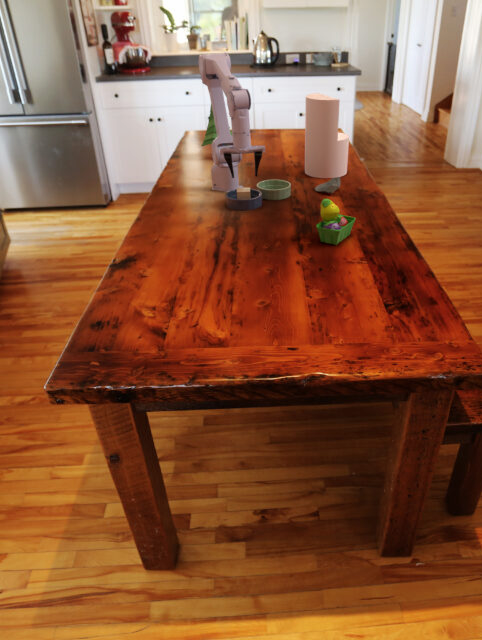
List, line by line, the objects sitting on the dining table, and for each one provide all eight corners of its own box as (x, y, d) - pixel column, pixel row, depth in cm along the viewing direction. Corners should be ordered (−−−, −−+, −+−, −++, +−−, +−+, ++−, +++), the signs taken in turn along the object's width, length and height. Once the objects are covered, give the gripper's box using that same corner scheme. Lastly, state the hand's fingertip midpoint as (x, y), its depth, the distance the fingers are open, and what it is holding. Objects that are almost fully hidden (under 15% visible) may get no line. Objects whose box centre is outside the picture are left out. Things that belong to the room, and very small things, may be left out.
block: (237, 206, 165) (236, 191, 162) (237, 202, 168) (236, 187, 165) (250, 206, 165) (250, 191, 162) (250, 201, 169) (249, 187, 166)
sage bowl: (251, 198, 173) (250, 187, 171) (267, 188, 182) (266, 177, 180) (281, 203, 168) (281, 191, 166) (296, 193, 177) (296, 182, 175)
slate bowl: (219, 208, 165) (218, 196, 162) (238, 197, 174) (237, 186, 171) (251, 214, 160) (250, 202, 158) (268, 202, 169) (268, 191, 167)
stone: (319, 200, 174) (346, 191, 173) (316, 189, 172) (343, 180, 171) (315, 193, 183) (341, 184, 182) (312, 183, 181) (338, 174, 180)
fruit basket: (338, 247, 138) (340, 209, 131) (310, 241, 142) (311, 203, 135) (355, 234, 146) (358, 197, 139) (329, 228, 149) (330, 192, 143)
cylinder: (316, 180, 190) (318, 101, 174) (297, 169, 203) (298, 94, 187) (354, 174, 196) (360, 97, 180) (334, 164, 209) (337, 91, 193)
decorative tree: (199, 161, 214) (191, 85, 196) (210, 152, 226) (203, 80, 209) (229, 162, 212) (224, 85, 194) (238, 153, 224) (234, 80, 207)
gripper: (218, 135, 150) (222, 180, 157) (264, 133, 151) (267, 177, 159) (218, 132, 156) (222, 175, 163) (263, 130, 158) (265, 173, 165)
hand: (244, 176), depth 161 cm, fingers open, 7 cm apart
